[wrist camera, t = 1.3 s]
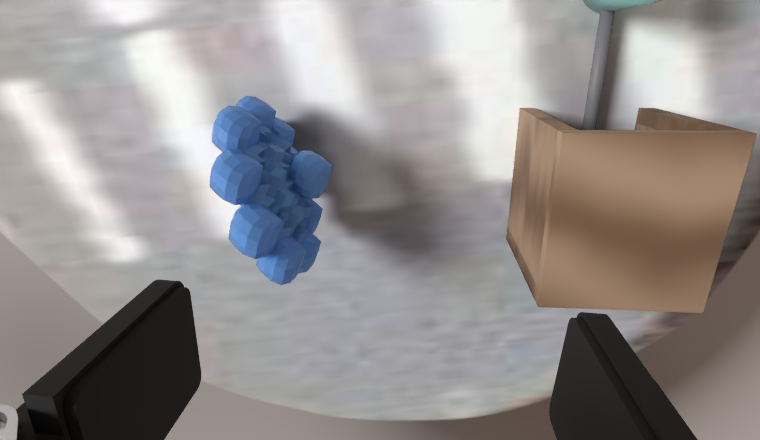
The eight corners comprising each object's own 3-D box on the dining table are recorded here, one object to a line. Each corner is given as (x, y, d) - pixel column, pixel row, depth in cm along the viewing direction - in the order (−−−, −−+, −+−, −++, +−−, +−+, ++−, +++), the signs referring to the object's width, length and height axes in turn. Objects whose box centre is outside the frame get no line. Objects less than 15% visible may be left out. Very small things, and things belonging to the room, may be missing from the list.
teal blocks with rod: (569, -41, 27) (612, -66, 21) (653, -43, 27) (722, -70, 21) (536, 216, 33) (562, 253, 27) (604, 217, 33) (646, 255, 27)
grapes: (375, 215, 35) (354, 295, 23) (298, 240, 36) (244, 326, 25) (317, 70, 31) (259, 81, 20) (233, 103, 32) (136, 132, 21)
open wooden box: (520, 108, 31) (562, 132, 22) (654, 108, 30) (756, 133, 21) (506, 238, 34) (538, 306, 25) (625, 241, 34) (702, 312, 24)
